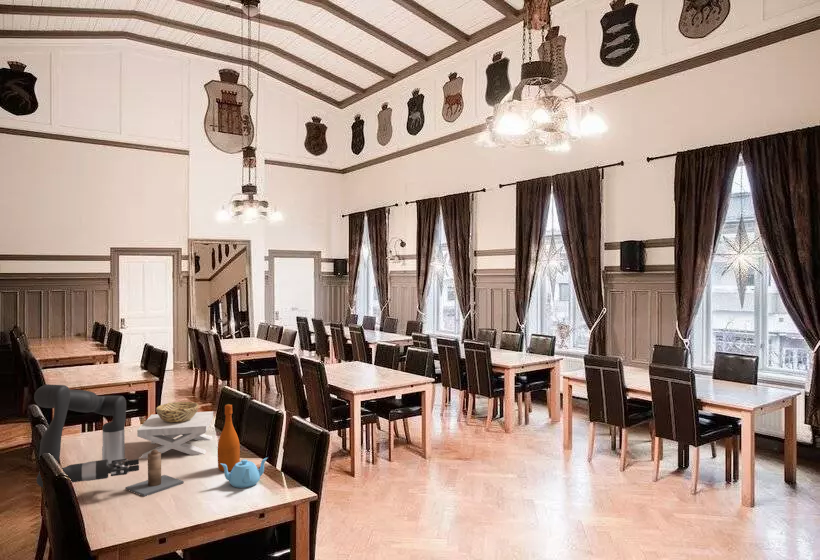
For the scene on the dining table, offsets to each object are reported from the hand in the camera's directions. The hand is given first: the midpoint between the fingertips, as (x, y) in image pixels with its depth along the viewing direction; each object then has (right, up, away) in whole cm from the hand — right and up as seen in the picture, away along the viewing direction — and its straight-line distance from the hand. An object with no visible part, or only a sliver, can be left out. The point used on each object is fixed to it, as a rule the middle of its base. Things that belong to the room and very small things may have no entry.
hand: (138, 464), depth 243 cm
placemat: (+6, -10, +3) cm, 12 cm away
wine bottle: (+30, -10, +25) cm, 40 cm away
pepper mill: (+5, -9, +3) cm, 11 cm away
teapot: (+43, -10, +5) cm, 45 cm away
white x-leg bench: (-7, -10, +59) cm, 60 cm away
